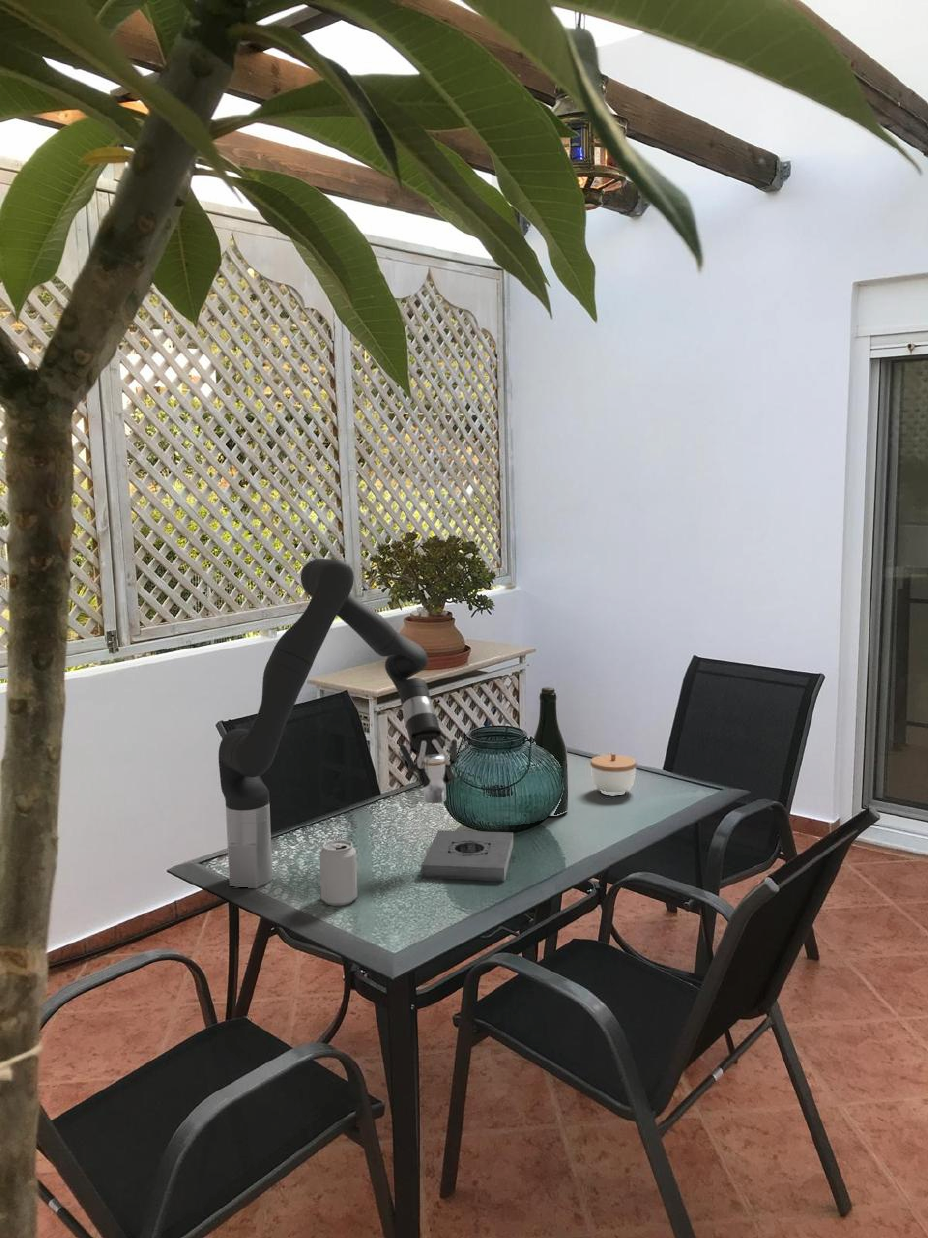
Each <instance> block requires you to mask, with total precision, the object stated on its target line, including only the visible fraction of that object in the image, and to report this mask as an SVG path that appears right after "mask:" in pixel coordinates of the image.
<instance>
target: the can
mask: <svg viewBox="0 0 928 1238" xmlns="http://www.w3.org/2000/svg"><path fill="white" fill-rule="evenodd" d="M353 845H354V844H353V842H352V841H349V840H346V839H333V840H329V841H327V842H325V843H323V844H322V845H321V846H322V849H321V850H320V851H319V853H318V854H319V874H320V875H319V876H320V877H319V878H320V881H319V882H320V898H321V900H322V901H324V902H325V903H326V904H327V905H330V906H334V907H337V906H338V907H339V906H340V907H341V906H345V905H349V904H351V903H353V901H354V900H355V899H356V898H357V896H358V872H357V871H358V870H357V851H356V850H357V849H356V848H354V847H353Z"/></svg>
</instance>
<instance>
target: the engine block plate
mask: <svg viewBox="0 0 928 1238" xmlns="http://www.w3.org/2000/svg"><path fill="white" fill-rule="evenodd" d="M513 847H514V832H509V831H508V832H505V831H503V832H502V831H475V830H473V831H472V830H450V829H449V830H448V829H447V830H446V829H445V830H444V829H443V830H442V829H438V831H437V832H436V834H435V837H434V838H433V841H432V843H431V845H430V847H429V849H428V851H427V853H426V855H425V857H424V860H423V862H422V863H421V878H422V879H437V880H438V879H439V880H461V881H462V880H463V881H464V880H465V881H486V882H489V881H490V882H505V880H506V875H507V872H508V868H509V863H510V861H511V860H510V859H511V856H512V853H513V852H512V851H513Z"/></svg>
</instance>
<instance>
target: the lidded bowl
mask: <svg viewBox="0 0 928 1238" xmlns="http://www.w3.org/2000/svg"><path fill="white" fill-rule="evenodd" d="M636 770H637V761H636V759H634V758H632V757H630V756H627V755H621V754H620V755H619V754H616V753H614V752H613V753H610V754H603V755H597V756H594V757H592V758H591V759H590V775H591V779H592V782H593V785H594V786H595V788H596V789H597V790H598V789H599V790H602V791H606V792H622V791H627V790H628V791H630V789H631V788H632V787H633V785H634V783H635V779H636V772H637V771H636ZM599 790H598V791H599ZM628 791H627V792H628Z"/></svg>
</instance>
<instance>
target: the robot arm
mask: <svg viewBox="0 0 928 1238" xmlns="http://www.w3.org/2000/svg"><path fill="white" fill-rule="evenodd" d="M352 568H353V567H351V565H350V564H349V563H348V562H346V561H344V560H341V559H329V558H317V559H316V558H315V559H312V560H309V562H307V563H306V564H305V565H304V566H303V568H302V569H301V572H300V583H301V586H302V588H303V590H304V592H306V594H307V595H309V596H310V597H311V599H310V601H309V603H308V605H307V607H306V609H305V610H304V612H303V613H302V614H301V616H300V617H298V618H297V620H296V621H295V622H294V623H293V624H292V625H291V626H290V627H289V628H288V629H287V630H286V631H285V632H284V633H283V635H281V637H280V638H279V639H278V640H277V642H276V644H275V645H274V647H273V649H272V652H271V654H270V656H269V658H268V660H267V662H266V664H265V666H264V671H263V674H262V675H263V676H262V686H261V688H262V689H261V699H260V700H261V701H260V706H259V709H258V712H257V715H256V717H255V718H254V721H253V723H252V724H251V727H250V729H249V730H248V729H245V728H235V729H232V730H230V731H228V732H227V733H225V735H224V736H223V738H222V739H221V741H220V744H219V748H218V767H219V779H220V788H221V792H222V795H223V797H224V801H225V816H226V817H225V819H226V838H227V858H228V859H227V860H228V878H229V887H230V886H241V887H248V888H247V889H258V888H259V887H261V886H263V885H264V886H265V885H266V884H268V883H270V882H271V881H272V880H273V858H272V856H273V855H272V835H271V834H272V832H271V831H272V830H271V811H270V809H271V808H270V792H269V789H268V787H267V786H266V785H265V784H264V782H263V780H262V778H261V776H262V775H263V774H264V773H266V772H267V771H268V769H270V767H271V765H272V763H273V761H274V759H275V757H276V754H277V751H278V748H279V745H280V741H281V739H282V736H283V734H284V730H285V727H286V725H287V722H288V720H289V717H290V715H291V713H292V712H293V709H294V706H295V704H296V701H297V700H298V697H299V696H300V692H301V690H302V688H303V686H304V684H305V683H306V680H307V678H308V676H309V674H310V672H311V669H312V668H313V666H314V663H315V661H316V658H317V656H318V654H319V651H320V650H321V647H322V645H323V643H324V641H325V639H326V637H327V634H328V633H329V630H330V629H331V626H332V625H333V623H334V621H335V619H336V618H337V617H338V618H339V619H341V620H342V621H343V622H344V623H346V624H347V625H348V626H349V627H350V628H351V629H352V630H353V632H355V633H356V634H357V635H358V636H359V637H360V638H361V639H363V641H364V642H365V643H366V644H367V645H368V646H369V647H370V648H371V649H372V650H373V651H374V652H375V653H376V655H379V656H380V657H382V658H383V657H387V658H386V660H385V664H384V669H385V672H386V674H387V676H388V677H389V679H390V680H391V682H392V683H393V685H394V687H395V689H396V691H397V693H398V696H399V700H400V703H401V708H402V714H403V722H404V724H405V728H406V732H407V737H408V739H409V744H407V745H404V744H401V745H400V746H399V748H398V749H399V750H398V754H399V756H400V758H401V760H402V762H403V764H404V766H405V768H406V770H407V771H408V773H412V772H413V773H416V776H417V779H418V783H419V785H420V786H422V788H424V787H427V778H426V774H425V771H424V769H423V756H425V755H427V754H443V755H445V773H446V786H447V785H448V786H449V785H451V783H452V781H453V779H454V778H453V777H454V775H453V771H452V768H455V766H456V765H457V764H456V763H457V761H458V741H457V739H452V740H451V741H450V740H445V738H444V737H443V736H442V733H441V732H442V731H441V729H440V728H441V727H440V724H439V721H438V720H439V719H438V717H437V714H436V708H435V706H434V704H433V702H432V698H431V694H430V691H429V687H428V685H427V682H426V681H425V680H424V679H423V678H420V677H413V676H415V675H417V674H418V673H421V672H422V671H424V670H425V669H426V668H427V667H428V664H429V657H428V654H427V653H426V652H427V651H425V650H424V648H423V647H422V646H421V645H419V644H418V643H417V642H415V641H413V640H411V639H409V638H407V637H406V636H404V635H403V634H401V633H399V632H398V631H397V630H395V628H394V627H393V626H392V625H391V624H390V623H389V622H388V621H387V619H385V618H384V617H383V616H382V615H381V614H379V613H378V612H377V611H375V610H374V609H372V608H371V607H369V606H368V605H367V604H365V603H363V602H362V601H361V600H359V598H356V597H355V596H354V595H353V594H352V593H351V592H352V590H353V589H352V588H353V586H354V580H355V576H354V571H353V569H352ZM411 677H412V678H411ZM444 747H446V750H447V751H448V752H449V759H448V757H447V755H446V752H445V751H444V750H443V749H444ZM411 752H412V753H413V754H414V755H415V756H417V759H416V763H414V761H413V759H412V757H411V755H410V753H411Z"/></svg>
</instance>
